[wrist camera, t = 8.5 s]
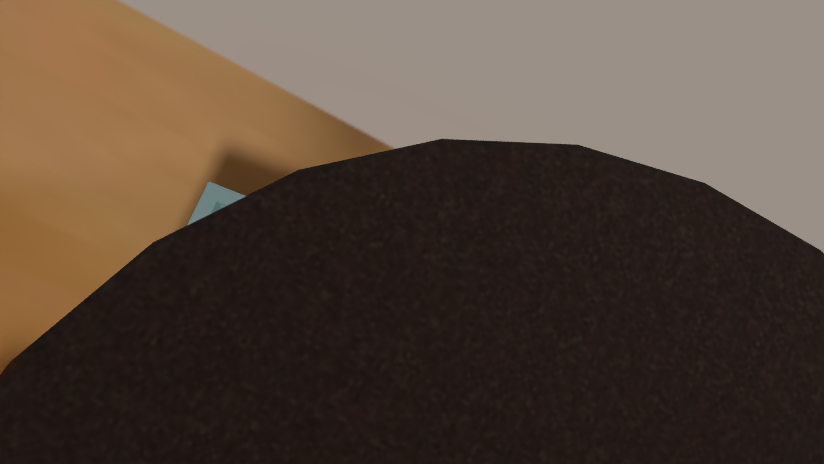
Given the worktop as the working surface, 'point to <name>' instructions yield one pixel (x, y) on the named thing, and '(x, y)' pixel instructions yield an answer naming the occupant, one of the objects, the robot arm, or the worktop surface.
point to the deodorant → (443, 325)
